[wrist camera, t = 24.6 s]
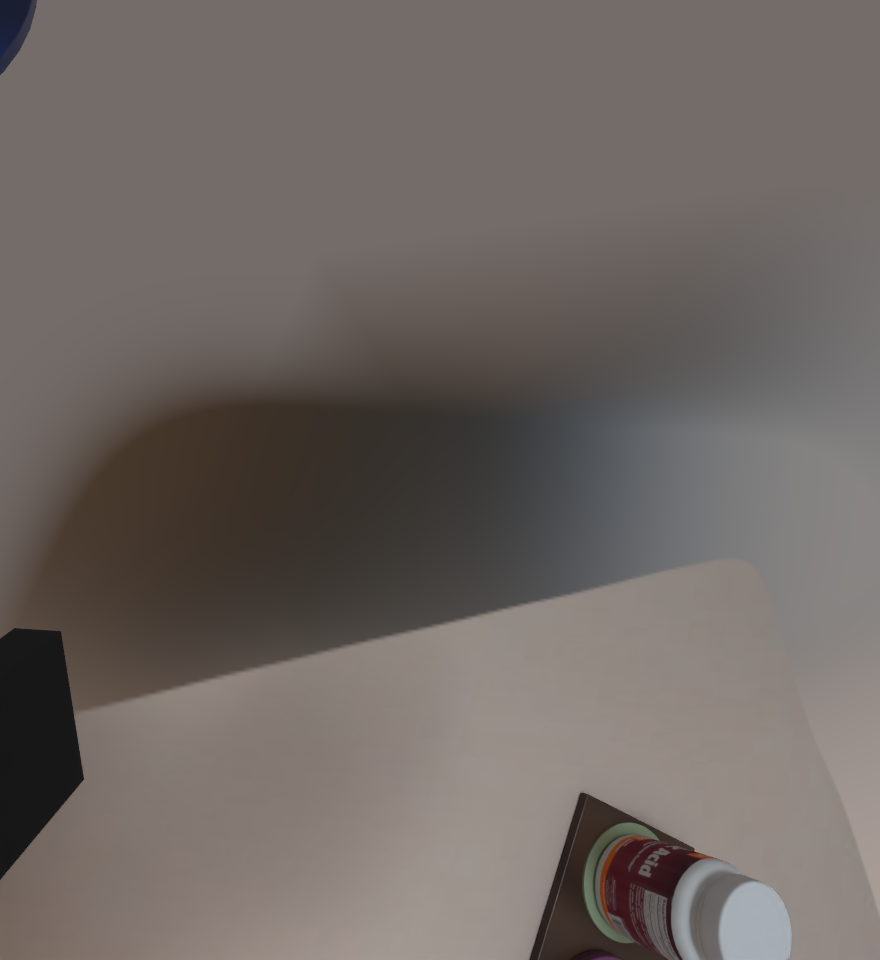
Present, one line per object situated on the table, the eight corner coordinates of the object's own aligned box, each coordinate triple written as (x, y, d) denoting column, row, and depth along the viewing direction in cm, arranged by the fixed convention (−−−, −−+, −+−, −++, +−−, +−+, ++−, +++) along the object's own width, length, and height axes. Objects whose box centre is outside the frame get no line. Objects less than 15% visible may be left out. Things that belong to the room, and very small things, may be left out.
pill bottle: (655, 822, 39) (783, 857, 31) (674, 918, 38) (811, 977, 30) (583, 846, 37) (702, 889, 29) (601, 948, 36) (728, 1019, 28)
